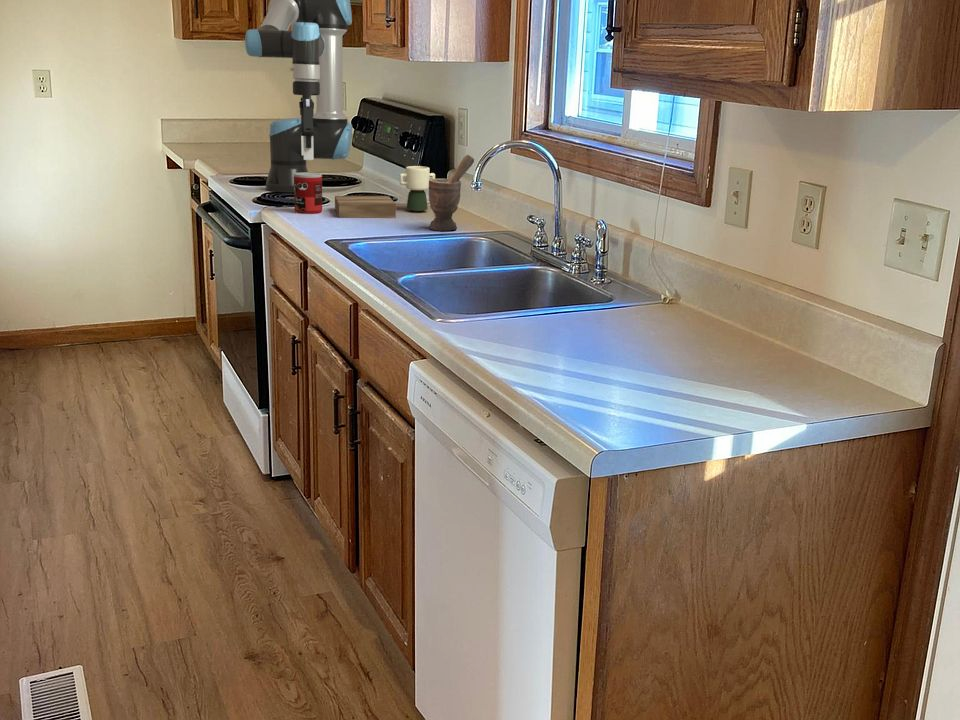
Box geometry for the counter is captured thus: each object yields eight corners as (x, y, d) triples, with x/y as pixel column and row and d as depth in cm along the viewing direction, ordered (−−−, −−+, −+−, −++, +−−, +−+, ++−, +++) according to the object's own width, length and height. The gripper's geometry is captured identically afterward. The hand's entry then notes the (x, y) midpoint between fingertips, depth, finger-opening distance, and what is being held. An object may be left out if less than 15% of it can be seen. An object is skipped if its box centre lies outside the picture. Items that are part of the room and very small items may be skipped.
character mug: (430, 209, 304) (431, 165, 300) (438, 212, 298) (438, 168, 294) (396, 210, 301) (396, 166, 297) (402, 213, 294) (403, 168, 290)
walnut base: (335, 209, 298) (334, 195, 297) (388, 209, 301) (388, 195, 300) (339, 217, 283) (339, 203, 282) (395, 217, 286) (395, 203, 285)
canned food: (291, 210, 293) (290, 172, 290) (318, 209, 297) (317, 172, 293) (298, 214, 287) (297, 175, 283) (325, 213, 290) (325, 175, 287)
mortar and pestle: (461, 225, 277) (463, 152, 272) (475, 230, 270) (477, 155, 264) (423, 227, 272) (424, 152, 266) (436, 232, 265) (437, 155, 259)
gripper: (291, 79, 292) (292, 153, 298) (294, 81, 268) (295, 161, 274) (317, 80, 293) (318, 153, 299) (322, 81, 270) (323, 161, 276)
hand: (307, 157), depth 287 cm, fingers open, 13 cm apart
